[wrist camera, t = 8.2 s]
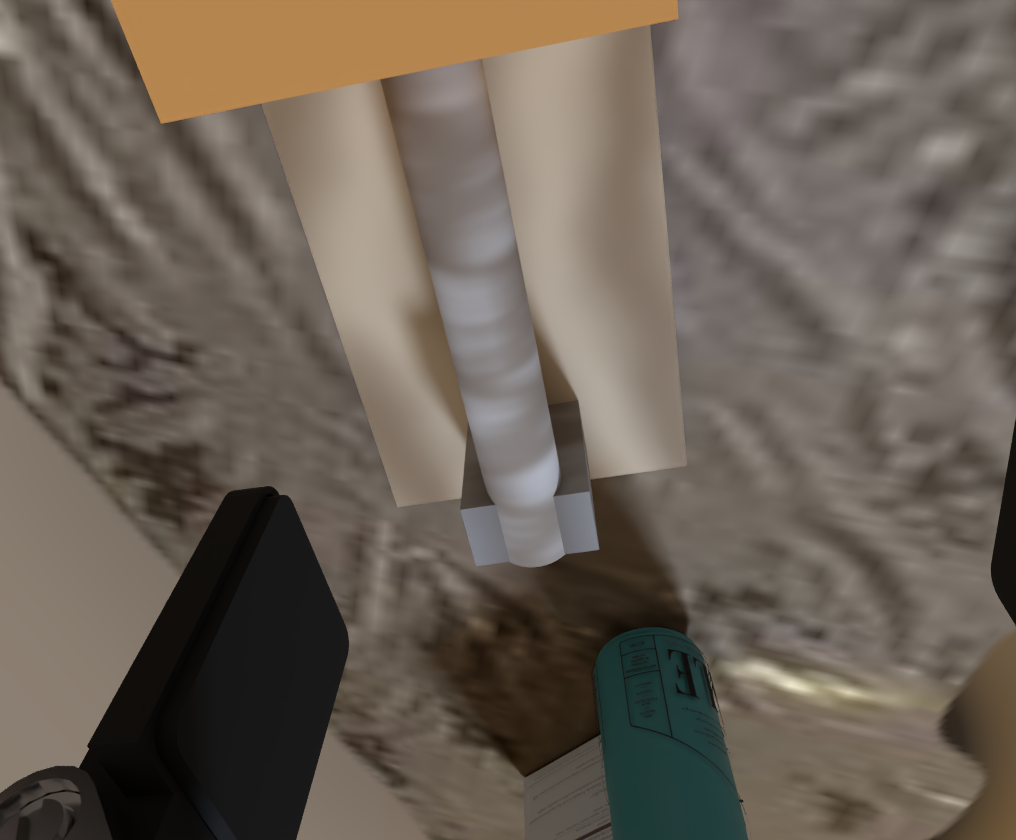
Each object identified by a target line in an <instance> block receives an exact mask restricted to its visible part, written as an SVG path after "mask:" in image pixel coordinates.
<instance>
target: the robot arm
mask: <svg viewBox="0 0 1016 840" xmlns="http://www.w3.org/2000/svg"><path fill="white" fill-rule="evenodd" d="M991 577H992V582H993V586H994V588H995V591H996V593H997V595H998V597H999V599H1000V600H1001V602H1002V604H1003V605H1004V607H1005V609H1006V610H1007V612H1008V614H1009V615H1010V617H1011V618H1012V620H1013V622H1014V623H1015V625H1016V420H1015V426H1014V432H1013V438H1012V444H1011V450H1010V455H1009V461H1008V467H1007V473H1006V479H1005V485H1004V491H1003V497H1002V503H1001V509H1000V515H999V521H998V527H997V533H996V539H995V545H994V550H993V556H992V562H991ZM348 649H349V638H348V632H347V629H346V626H345V623H344V621H343V619H342V616H341V614H340V612H339V609H338V607H337V605H336V602H335V600H334V598H333V595H332V593H331V591H330V588H329V586H328V584H327V581H326V579H325V577H324V574H323V572H322V570H321V567H320V565H319V563H318V560H317V558H316V556H315V553H314V551H313V549H312V546H311V544H310V542H309V539H308V537H307V535H306V532H305V530H304V528H303V525H302V523H301V521H300V518H299V516H298V514H297V511H296V509H295V507H294V504H293V502H292V500H291V499H290V498H289V497H288V496H287V495H279V493H278V492H277V490H275V489H274V488H273V487H270V486H266V487H258V488H250V489H242V490H234V491H231V492H229V493H228V494H227V495H226V496H225V498H224V499H223V501H222V503H221V505H220V507H219V508H218V510H217V512H216V514H215V516H214V517H213V519H212V521H211V523H210V525H209V526H208V528H207V530H206V532H205V534H204V536H203V537H202V539H201V541H200V543H199V545H198V546H197V548H196V550H195V552H194V554H193V555H192V557H191V559H190V561H189V563H188V564H187V566H186V568H185V570H184V572H183V573H182V575H181V577H180V579H179V581H178V583H177V584H176V586H175V588H174V590H173V592H172V593H171V595H170V597H169V599H168V601H167V602H166V604H165V606H164V608H163V610H162V612H161V613H160V615H159V617H158V619H157V620H156V622H155V624H154V626H153V628H152V630H151V631H150V633H149V635H148V637H147V639H146V640H145V642H144V644H143V646H142V648H141V650H140V651H139V653H138V655H137V657H136V659H135V660H134V662H133V664H132V666H131V668H130V669H129V671H128V673H127V675H126V677H125V678H124V680H123V682H122V684H121V686H120V688H119V689H118V691H117V693H116V695H115V696H114V698H113V700H112V702H111V704H110V705H109V707H108V709H107V711H106V713H105V715H104V716H103V718H102V720H101V722H100V724H99V726H98V727H97V729H96V731H95V733H94V734H93V736H92V738H91V740H90V742H89V743H88V748H89V750H88V752H87V754H86V756H85V758H84V760H83V761H82V763H81V765H80V767H79V768H77V767H75V766H54V767H51V768H47V769H43V770H40V771H37V772H35V773H32V774H30V775H28V776H27V777H24V778H23V779H20V780H18V781H17V782H15V783H13V784H12V785H11V786H9V787H8V788H7V789H5V790H4V791H3V792H1V793H0V840H296V838H297V834H298V831H299V827H300V824H301V820H302V816H303V813H304V809H305V805H306V802H307V799H308V795H309V791H310V788H311V784H312V781H313V777H314V774H315V770H316V766H317V763H318V759H319V756H320V752H321V748H322V745H323V741H324V738H325V734H326V731H327V727H328V723H329V720H330V716H331V713H332V709H333V706H334V702H335V698H336V695H337V691H338V688H339V684H340V681H341V677H342V673H343V670H344V666H345V663H346V659H347V655H348Z"/></svg>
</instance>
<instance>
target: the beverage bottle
mask: <svg viewBox="0 0 1016 840" xmlns="http://www.w3.org/2000/svg"><path fill="white" fill-rule="evenodd" d="M701 653H702V652H700V650H699V649H698V648H697V646H696V645H695V644H694V642H693V641H692V640H690V639H689V638H688V637H687V636H685V635H683V634H681V633H679V632H677V631H674V630H670V629H666V628H657V627H648V628H640V629H634V630H631V631H627V632H625V633H622V634H620V635H618V636H616V637H615V638H613V639H611V640H610V641H609V642H608V643H607V644H606V645H605V646H604V647H603V648H602V649H601V651H600V652H599V654H598V656H597V660H596V664H595V665H594V666H595V668H594V667H593V668H594V674H593V676H594V679H595V687H594V690H596V691H595V692H596V694H594V693H593V696H594V695H596V700H597V706H596V707H598V710H597V713H598V715H597V714H595V715H597V718H598V716H599V723H598V726H599V725H600V727H599V728H600V734H601V741H600V743H602V748H601V749H602V750H601V751H602V752H603V758H602V761H604V770H605V780H606V788H607V794H608V799H609V803H608V804H609V808H610V817H611V827H612V836H613V840H748V837H747V831H746V824H745V821H744V817H743V813H742V809H741V805H740V802H741V804H742V802H743V800H741V799H740V800H739V798H740V797H738V796H739V795H738V793H737V789H736V785H735V781H734V777H733V773H732V769H731V765H730V761H729V757H728V753H727V750H728V748H727V747H726V745H725V741H724V734H723V733H722V730H721V728H722V727H721V725H720V722H719V718H718V714H717V712H718V711H717V709H716V706H715V702H714V698H713V691H712V690H711V686H710V682H711V681H712V678H711V675H710V680H711V681H709V678H708V676H709V674H710V672H709V673H708V674H707V670H706V668H707V667H706V666H705V663H706V662H704V658H703V656H702V654H703V653H702V654H701ZM703 655H704V654H703ZM706 660H707V659H706ZM707 663H708V662H707ZM707 663H706V664H707ZM708 668H709V666H708ZM592 671H593V670H592ZM708 671H709V670H708ZM591 677H592V675H591ZM592 680H593V678H592ZM593 682H594V681H593ZM593 686H594V684H593ZM712 688H713V690H714V691H715V689H714V686H713V682H712ZM593 692H594V691H593ZM714 694H715V697H716V693H715V692H714ZM716 698H717V697H716ZM596 700H594V701H595V703H596ZM716 700H717V699H716ZM717 703H718V701H717ZM594 706H595V705H594ZM718 707H719V705H718ZM719 711H720V710H719ZM595 713H596V710H595ZM720 714H721V713H720ZM721 718H722V717H721ZM596 721H597V719H596ZM722 722H723V720H722ZM596 725H597V723H596ZM599 728H597V730H599ZM723 728H724V726H723ZM723 728H722V729H723ZM723 731H724V730H723ZM725 734H726V733H725ZM598 739H599V740H600V738H599V737H598ZM599 746H600V744H599ZM599 748H600V747H599ZM601 751H600V752H601ZM729 754H730V753H729ZM600 755H601V754H600ZM600 758H601V756H600ZM601 767H602V766H601ZM602 776H603V775H602ZM602 782H603V781H602ZM603 786H604V784H603ZM604 792H605V791H604ZM606 799H607V798H606ZM607 802H608V800H607ZM742 806H743V805H742ZM743 809H744V808H743ZM744 811H745V810H744ZM745 814H746V813H745ZM747 820H748V819H747ZM750 834H751V833H750Z"/></svg>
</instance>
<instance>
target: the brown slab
mask: <svg viewBox="0 0 1016 840" xmlns="http://www.w3.org/2000/svg"><path fill="white" fill-rule="evenodd" d="M111 2H112V4H113V7H114V9H115V12H116V14H117V17H118V19H119V21H120V24H121V26H122V29H123V31H124V34H125V36H126V39H127V41H128V44H129V46H130V48H131V51H132V53H133V56H134V58H135V61H136V63H137V66H138V68H139V70H140V73H141V75H142V78H143V80H144V83H145V85H146V88H147V90H148V93H149V95H150V97H151V100H152V102H153V105H154V107H155V110H156V112H157V115H158V117H159V120H160V122H161V124H162V123H167V122H172V121H177V120H182V119H187V118H192V117H196V116H201V115H206V114H211V113H216V112H221V111H226V110H231V109H236V108H241V107H246V106H251V105H256V104H261V103H266V102H271V101H276V100H280V99H285V98H290V97H295V96H300V95H305V94H310V93H315V92H320V91H325V90H330V89H335V88H340V87H345V86H350V85H355V84H359V83H364V82H369V81H374V80H379V79H384V78H389V77H394V76H399V75H404V74H409V73H414V72H419V71H424V70H429V69H434V68H439V67H443V66H448V65H453V64H458V63H463V62H468V61H473V60H478V59H483V58H488V57H493V56H498V55H503V54H508V53H513V52H518V51H522V50H527V49H532V48H537V47H542V46H547V45H552V44H557V43H562V42H567V41H572V40H577V39H582V38H587V37H592V36H597V35H602V34H606V33H611V32H616V31H621V30H626V29H631V28H636V27H641V26H646V25H651V24H656V23H661V22H666V21H671V20H676V19H679V18H678V3H677V0H111Z"/></svg>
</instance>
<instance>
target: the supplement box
mask: <svg viewBox="0 0 1016 840" xmlns="http://www.w3.org/2000/svg"><path fill="white" fill-rule="evenodd" d="M598 737H599V738H600V740H599V739H598ZM600 741H601V735H599V736H597V737H595V738H594V739H592V740H590V741H588V742H587V743H585V744H583V745H582V746H580V747H578V748H576V749H575V750H573V751H571V752H569V753H568V754H566V755H564V756H562V757H561V758H559V759H557V760H555V761H554V762H552V763H550V764H549V765H547V766H545V767H543V768H541V769H540V770H538V771H536V772H535V773H533V774H531V775H529V776H527V777H526V778H524V811H525V840H613V836H612V827H611V817H610V808H609V804H608V803H609V799H608V794H607V788H606V780H605V770H604V761H602V758H603V752H602V751H601V750H602V749H601V748H602V743H600ZM599 744H600V746H599ZM599 747H600V748H599ZM600 751H601V752H600ZM600 754H601V755H600ZM600 756H601V758H600ZM601 766H602V767H601ZM602 775H603V776H602ZM602 781H603V782H602ZM603 784H604V786H603ZM604 791H605V792H604ZM606 798H607V799H606ZM607 800H608V802H607Z"/></svg>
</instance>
